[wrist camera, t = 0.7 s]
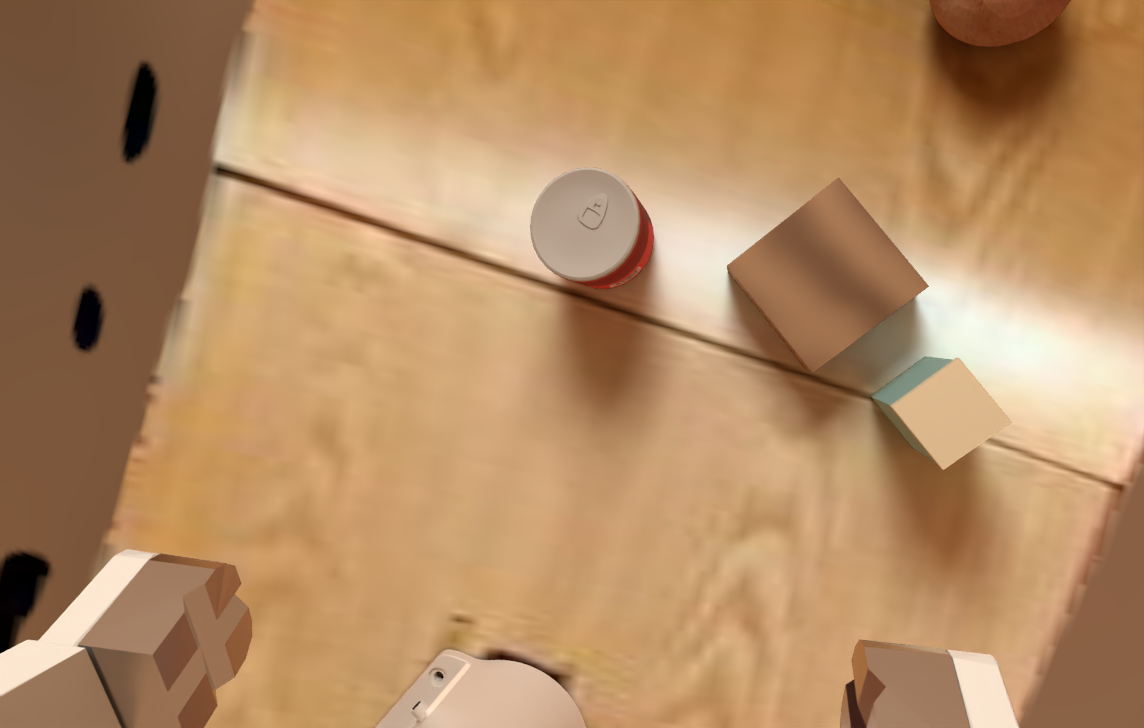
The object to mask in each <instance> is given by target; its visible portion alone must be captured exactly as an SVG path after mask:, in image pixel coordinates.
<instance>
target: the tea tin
mask: <svg viewBox="0 0 1144 728" xmlns="http://www.w3.org/2000/svg"><path fill="white" fill-rule="evenodd" d="M871 398H872V399H873V400H874V401H875V403H876V404H877V405H878V406H879V407H880V409H881V410H882V411H883V412H884V414H885V415H886V416H887V417H888V419H889V420H890V421H891V422H892V424H893V425H894V426H895V427H896V429H897V430H898V431H899V432H900V433H901V435H902V436H903V437H904V438H905V440H906V441H907V442H908V443H909V445H910V446H911V447H912V448H913V449H915V450H916V451H918V452H919V453H921V454H923V455H924V456H926V457H927V458H929V459H930V460H932V461H933V462H935V463H937V465H938V466H939V467H940V468H941V469H942V470H944V469H946V468H947V467H949V466H950V465H951V464H953V463H954V462H956V461H957V460H959V459H960V458H961V457H963V456H964V455H966V454H967V453H969V452H970V451H971V450H973V449H974V448H976V447H977V446H979V445H980V444H981V443H983V442H984V441H986V440H987V439H989V438H990V437H991V436H993V435H994V434H996V433H997V432H999V431H1000V430H1001V429H1003V428H1004V427H1006V426H1007V425H1009V424H1010V423H1012V422H1011V420H1010V419H1009V418H1008V417H1007V415H1006V414H1005V413H1004V412H1003V411H1002V409H1001V408H1000V407H999V406H998V405H997V403H996V402H995V401H994V400H993V399H992V397H991V396H990V395H989V394H988V392H987V391H986V390H985V389H984V388H983V386H982V385H981V384H980V383H979V382H978V380H977V379H976V378H975V377H974V375H973V374H972V373H971V372H970V371H969V369H968V368H967V367H966V366H965V365H964V363H963V362H962V361H961V360H960V359H959V358H955V359H954V360H951V359H942V358H933V357H923V358H922V359H921V360H919V361H918V362H917V363H915V364H914V365H913V366H911V367H910V368H908V369H907V370H906V371H904V372H903V373H902V374H900V375H899V376H897V377H896V378H895V379H893V380H892V381H891V382H889V383H888V384H886V385H885V386H884V387H882V388H881V389H880V390H878V391H877V392H876V393H874V394H873V395H871Z"/></svg>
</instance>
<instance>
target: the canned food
mask: <svg viewBox="0 0 1144 728" xmlns="http://www.w3.org/2000/svg"><path fill="white" fill-rule="evenodd" d="M530 230H531V239H532V243H533V246H534V249H535V251H536V253H537V255H538V257H539V258H540V260H541V261H542V262H543V263H544V265H545V266H546V267H547V268H548V269H550V270H551V271H552V272H553V273H555V274H556V275H558V276H560V277H562V278H564V279H567V280H570V281H573V282H576V283H580V284H583V285H586V286H590V287H593V288H600V289H608V288H615V287H617V286H620V285H623V284H625V283H627V282H628V281H630V280H632V279H633V278H634V277H635V276H636V275H637V274H639V273H640V271H641V270H642V269H643V267H644V266H645V265H646V263H647V261H648V259H649V257H650V254H651V251H652V248H653V239H654V235H653V226H652V223H651V219H650V217H649V215H648V213H647V212H646V210H645V208H644V207H643V206H642V204H641V203H640V201H639V200H638V198H637V197H636V195H635V194H634V193H633V191H632V190H631V189H630V188H629V187H628V185H627V184H626V183H625V182H624V181H623V180H621V179H620V178H619V177H618V176H616V175H614V174H612V173H610V172H608V171H606V170H602V169H598V168H588V167H584V168H578V169H573V170H571V171H568V172H565V173H563V174H562V175H560V176H558V177H557V178H555V179H554V180H553V181H552V182H551V183H549V184H548V185H547V186H546V187H545V189H544V190H543V191H542V193H541V194H540V195H539V197H538V199H537V201H536V203H535V205H534V209H533V212H532V216H531V224H530Z"/></svg>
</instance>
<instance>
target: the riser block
mask: <svg viewBox="0 0 1144 728" xmlns="http://www.w3.org/2000/svg"><path fill="white" fill-rule="evenodd" d="M727 270H728V272H729V273H730V275H731V276H732V277H733V278H734V280H735V281H736V282H737V283H738V285H739V286H740V287H741V288H742V289H743V291H744V292H745V293H746V294H747V296H748V297H749V298H750V299H751V301H752V302H753V303H754V304H755V306H756V307H757V308H758V309H759V311H760V312H761V313H762V314H763V316H764V317H765V318H766V319H767V321H768V322H769V323H770V324H771V326H772V327H773V328H774V329H775V331H776V332H777V333H778V334H779V336H780V337H781V338H782V339H783V341H784V342H785V343H786V344H787V346H788V347H789V348H790V349H791V351H792V352H793V353H794V354H795V356H796V357H797V358H798V359H799V361H800V362H801V363H802V364H803V365H804V367H805V368H806V369H807V370H808V371H810V372H812V373H813V372H815V371H816V370H817V369H819V368H820V367H821V366H823V365H824V364H826V363H827V362H828V361H830V360H831V359H832V358H834V357H835V356H836V355H838V354H839V353H840V352H842V351H843V350H844V349H846V348H847V347H848V346H850V345H851V344H852V343H854V342H855V341H856V340H858V339H859V338H860V337H862V336H863V335H864V334H866V333H867V332H868V331H870V330H871V329H872V328H874V327H875V326H876V325H878V324H879V323H880V322H882V321H883V320H884V319H886V318H887V317H889V316H890V315H891V314H893V313H894V312H895V311H897V310H898V309H899V308H901V307H902V306H903V305H905V304H906V303H907V302H909V301H910V300H911V299H913V298H914V297H915V296H917V295H918V294H919V293H921V292H922V291H923V290H925V289H926V288H927V287H929V286H928V285H927V283H926V282H925V281H924V280H923V278H922V277H921V276H920V275H919V274H918V272H917V271H916V270H915V269H914V268H913V266H912V265H911V264H910V263H909V262H908V260H907V259H906V258H905V257H904V256H903V254H902V253H901V252H900V251H899V250H898V248H897V247H896V246H895V245H894V244H893V242H892V241H891V240H890V239H889V238H888V236H887V235H886V234H885V233H884V231H883V230H882V229H881V228H880V227H879V225H878V224H877V223H876V222H875V221H874V219H873V218H872V217H871V216H870V215H869V213H868V212H867V211H866V210H865V209H864V207H863V206H862V205H861V204H860V203H859V201H858V200H857V199H856V198H855V197H854V195H853V194H852V193H851V192H850V190H849V189H848V188H847V187H846V186H845V184H844V183H843V182H842V181H841V180H840V178H837V179H836V180H835V181H834V182H832V183H831V184H830V185H829V186H827V187H826V188H825V189H824V190H822V191H821V192H820V193H818V194H817V195H816V196H815V197H813V198H812V199H811V200H810V201H808V202H807V203H806V204H805V205H803V206H802V207H801V208H800V209H798V210H797V211H796V212H794V213H793V214H792V215H791V216H789V217H788V218H787V219H786V220H784V221H783V222H782V223H781V224H779V225H778V226H777V227H775V228H774V229H773V230H772V231H770V232H769V233H768V234H767V235H765V236H764V237H763V238H762V239H760V240H759V241H758V242H756V243H755V244H754V245H753V246H751V247H750V248H749V249H748V250H746V251H745V252H744V253H743V254H741V255H740V256H739V257H738V258H736V259H735V260H734V261H732V262H731V263H730V264H729V265H727Z"/></svg>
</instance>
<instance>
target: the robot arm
mask: <svg viewBox="0 0 1144 728" xmlns="http://www.w3.org/2000/svg"><path fill="white" fill-rule="evenodd" d="M240 585H241V581H240V578H239V575H238V573H237V570H236V567H235V566H234V565H230V564H226V563H220V562H214V561H207V560H200V559H194V558H187V557H180V556H174V555H167V554H158V553H151V552H143V551H136V550H129V549H127V550H125V551H123V552H121V553H119V554H117V555H115V556H114V557H113V558H112V559H111V560H110V561H109V562H108V563H107V565H106V566H105V567H104V568H103V569H102V570H101V571H100V572H99V574H98V575H97V576H96V577H95V578H94V579H93V580H92V581H91V582H90V584H89V585H88V586H87V587H86V588H85V589H84V590H83V592H82V593H81V594H80V595H79V596H78V597H77V598H76V599H75V600H74V601H73V603H72V604H71V605H70V606H69V607H68V608H67V609H66V610H65V611H64V613H63V614H62V615H61V616H60V617H59V618H58V620H56V622H55V623H54V624H53V625H52V626H51V627H50V628H49V629H48V630H47V632H46V633H45V634H44V635H43V636H42V637H41V638H40V639H39V641H35V640H26V641H24V642H22V643H20V644H18V645H17V646H15V647H13V648H11V649H9V650H7V651H5V652H3V653H1V654H0V728H204V727H205V725H206V723H207V722H208V720H209V719H210V717H211V715H212V714H213V712H214V710H215V709H216V707H217V698H216V691H215V690H216V689H217V688H219V687H220V686H222V685H223V684H225V683H226V682H228V681H230V680H231V679H233V678H234V677H235V676H236V674H237V673H238V671H239V669H240V667H241V666H242V664H243V662H244V660H245V659H246V656H247V652H248V649H249V645H250V642H251V638H252V619H251V615H250V611H249V608H248V606H247V605H245V604H244V603H243V602H242V601H241V600H240V599H239V598H238V597H237V596H236V595H235V593H236V591H237V590H238V588H239V587H240ZM852 667H853V674H854V680H852V681H851V682H849V683H848V684H846V685H845V690H844V695H843V700H842V707H841V720H840V728H1019V726H1018V723H1017V720H1016V717H1015V714H1014V711H1013V708H1012V705H1011V702H1010V699H1009V696H1008V693H1007V690H1006V687H1005V684H1004V681H1003V678H1002V675H1001V672H1000V669H999V666H998V663H997V661H996V660H995V659H994V658H993V657H992V655H988V654H980V653H971V652H963V651H954V650H943V649H941V648H932V647H923V646H914V645H905V644H896V643H887V642H878V641H868V640H859V641H858V643H857V644H856V646H855V649H854V653H853V657H852ZM438 671H439V672H441V673H442V674H443V676H444V678H440V677H438V675H437V672H438ZM375 728H586V726H585V723H584V720H583V718H582V715H581V713H580V711H579V709H578V707H577V706H576V704H575V703H574V701H573V700H572V698H571V697H570V696H569V694H568V693H567V692H566V691H565V690H564V689H563V688H562V687H561V686H560V685H559V684H558V683H557V682H556V681H555V680H553V679H552V678H551V677H549V676H548V675H546V674H545V673H543V672H541V671H540V670H538V669H536V668H534V667H531V666H529V665H526V664H523V663H519V662H514V661H508V660H480V659H476V658H474V657H471V656H469V655H467V654H464V653H462V652H459V651H456V650H444V651H442V652H441V653H440V654H439V655H438V656H437V657H436V658H435V659H434V660H433V661H432V663H431V664H430V665H429V666H428V667H427V668H426V669H425V671H424V672H423V673H422V674H421V675H420V676H419V677H418V679H417V680H416V681H415V682H414V683H413V684H412V685H411V687H410V688H409V689H408V690H407V691H406V692H405V693H404V695H403V696H402V697H401V698H400V699H399V700H398V701H397V702H396V704H395V705H394V706H393V707H392V708H391V709H390V710H389V712H388V713H387V714H386V715H385V716H384V717H383V718H382V720H381V721H380V722H379V723H378V724H377V725H376V726H375Z"/></svg>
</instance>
